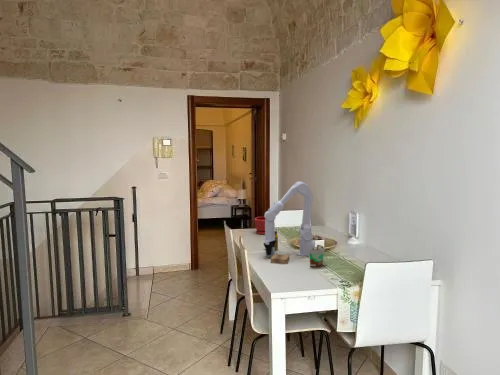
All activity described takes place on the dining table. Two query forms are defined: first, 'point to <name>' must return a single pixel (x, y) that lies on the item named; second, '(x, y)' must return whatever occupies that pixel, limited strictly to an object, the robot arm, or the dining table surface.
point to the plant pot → (260, 225)
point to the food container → (316, 256)
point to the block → (271, 252)
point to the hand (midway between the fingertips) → (270, 253)
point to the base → (280, 259)
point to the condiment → (276, 242)
